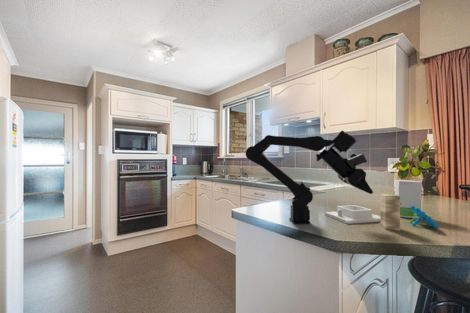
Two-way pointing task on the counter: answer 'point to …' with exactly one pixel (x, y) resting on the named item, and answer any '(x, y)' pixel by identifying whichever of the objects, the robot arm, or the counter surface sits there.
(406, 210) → the skincare box
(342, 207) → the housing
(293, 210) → the robot arm
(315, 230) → the counter surface
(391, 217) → the block
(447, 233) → the counter surface
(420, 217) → the blue cog crank toy
